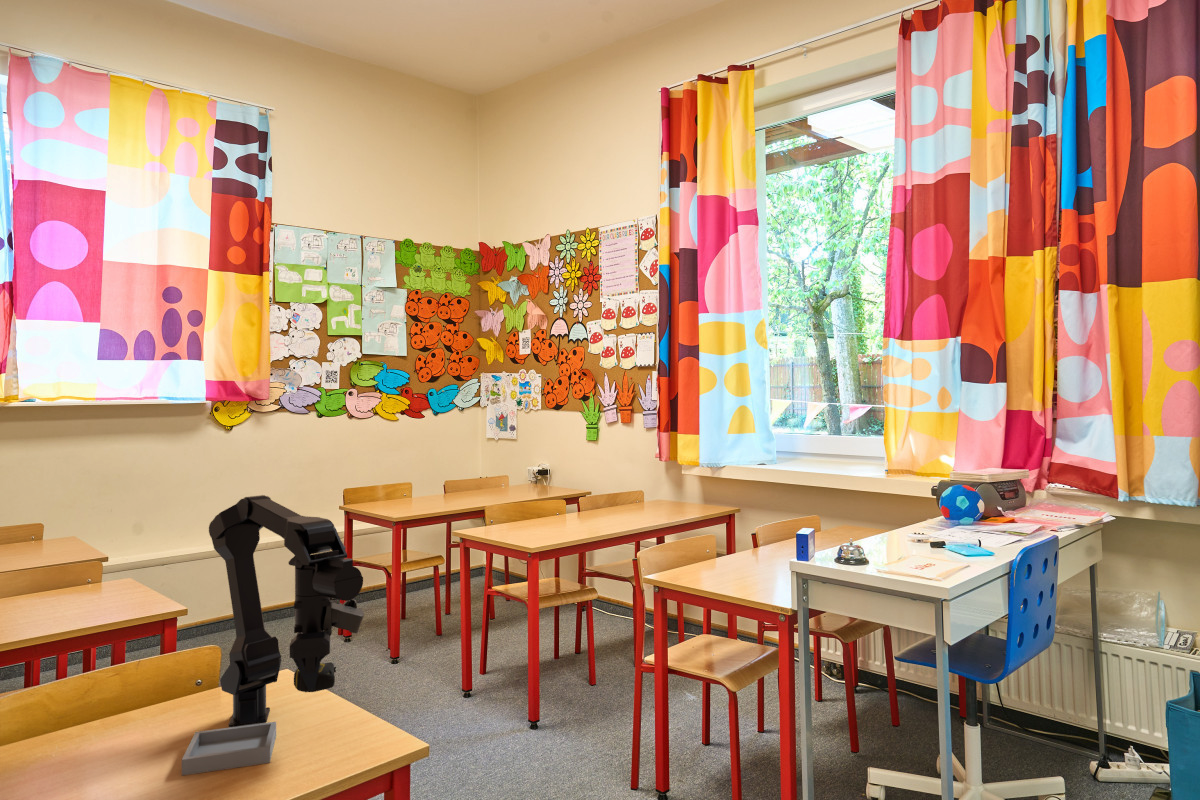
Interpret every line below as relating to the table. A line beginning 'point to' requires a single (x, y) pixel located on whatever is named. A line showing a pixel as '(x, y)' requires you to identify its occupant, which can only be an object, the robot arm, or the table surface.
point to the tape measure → (323, 679)
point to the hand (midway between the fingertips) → (312, 682)
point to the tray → (229, 748)
